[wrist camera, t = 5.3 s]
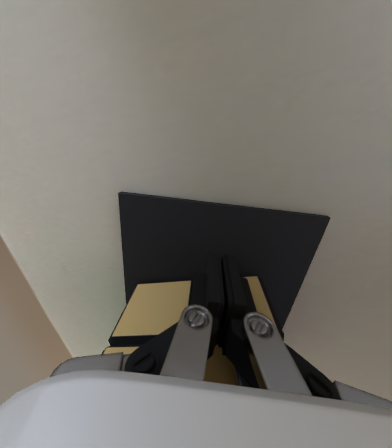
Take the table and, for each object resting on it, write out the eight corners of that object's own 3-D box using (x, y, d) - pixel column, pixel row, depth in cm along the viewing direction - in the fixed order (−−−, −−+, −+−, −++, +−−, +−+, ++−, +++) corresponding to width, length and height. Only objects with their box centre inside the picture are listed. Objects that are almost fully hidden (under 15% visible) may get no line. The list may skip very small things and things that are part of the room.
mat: (120, 191, 12) (116, 193, 12) (327, 215, 12) (332, 218, 12) (134, 402, 24) (133, 408, 23) (241, 416, 23) (242, 423, 23)
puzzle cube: (260, 355, 18) (317, 582, 8) (161, 357, 19) (116, 559, 10) (260, 272, 14) (364, 525, 5) (135, 281, 15) (19, 498, 6)
